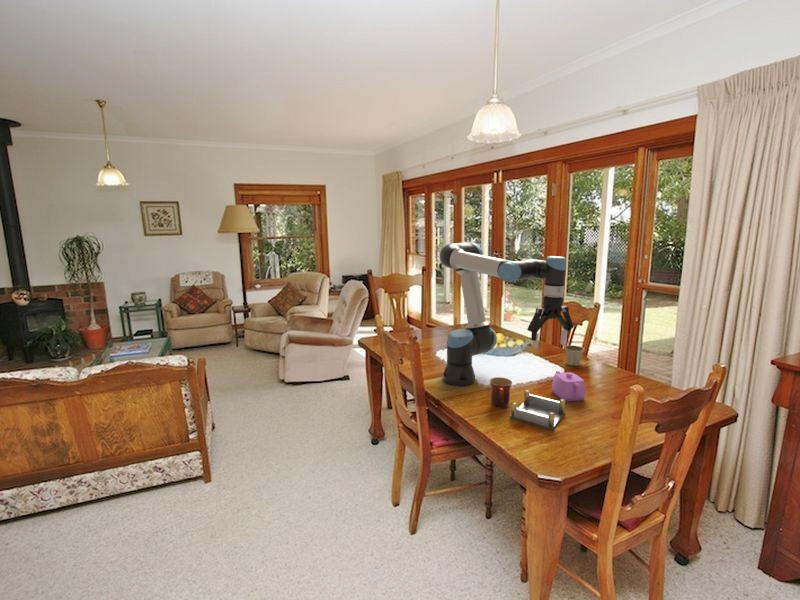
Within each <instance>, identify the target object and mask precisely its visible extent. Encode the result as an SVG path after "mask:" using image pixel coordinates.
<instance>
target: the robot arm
mask: <svg viewBox="0 0 800 600" xmlns="http://www.w3.org/2000/svg"><path fill="white" fill-rule="evenodd" d="M439 260H440V263H441V264H442V265H443V266H444V267H446V268H448V269H452V270H455V272H456V274H458V275H459V276H460V284H461V288H462V289H461V290H462V294H463V302H464V306H465V307H464V308H465V314H466V320H467V324H466V326H465V328H461V329H454V330H451V331H450V332H449V333H448V334H447V340H446V366H445V367H444V371H443V374H442V381H443V382H444V383H446V384H449V385H451V386H456V387H457V386H459V387H466V386H470V385H472V384H474V383H475V382H476V374H475V371H474V367H473V356H477V355H479V354H484V353H488V352H489V351H492V350H493V349H494V348H495V347H496V346H497V342H498V341H497V339H498V337H497V336H498V335H497V333H496V331H495V330H494V329H493V328H492V327H491V326H490V325H491V324H490V323H489V322H488V321H487V320H486V313H485V309H484V302H483V296H482V290H481V285H480V278H479V273H480V274H483V275H488V276H492V277H496V278H500V279H501V280H502V281H503V282H511V283H512V282H517V281H520V280H521V281H522V280H526V279H539V280H540V279H541V280H544V284H543V298H542V305H543V307H542V308H540V307H536V308H535V313H534V315H533V317H532V319H531V321H530V322H529V325H528V326H527V328H526V329H527V331H528V332H531V336H530V337H531V340H532V343H531V344H532V347H531V348H534V349H535V350H537V349H539V337H540V333H539V331H540V329H542V327H543V325H544V324H545V323H546V322H547V321H548V320H552V319H557V321H558V322H559V324H560V325H561V326H562V328H561V333H560V343H559V344H560V345H562V346H564V347H565V346H567V343H568V342H567V341H568V340H567V339H568V337H569V332H570V331H571V330H572V329H573V328H574V327H575V325H574V324H573V320H572V318H571V315H570V312H569V310H570V309H569V306H566V305H564V294H565V283H566V281H565V280H566V272H567V271H566V270H567V258H565V257H564V256H561V255H560V256H557V255H556V256H555V255H549V256H547V257H546V258H545V260H542V259H536V258H522V259H521V260H516V261H515V260H509V259H505V258H499V257H495V256H488V255H484V253H483V250H482V248H481V246H480V245H479V244H477V243H475V242H470V241H466V242H455V243H454V242H453V243H448V244H446V245H444V246H443V247H442V248H441V250H440V252H439Z"/></svg>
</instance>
